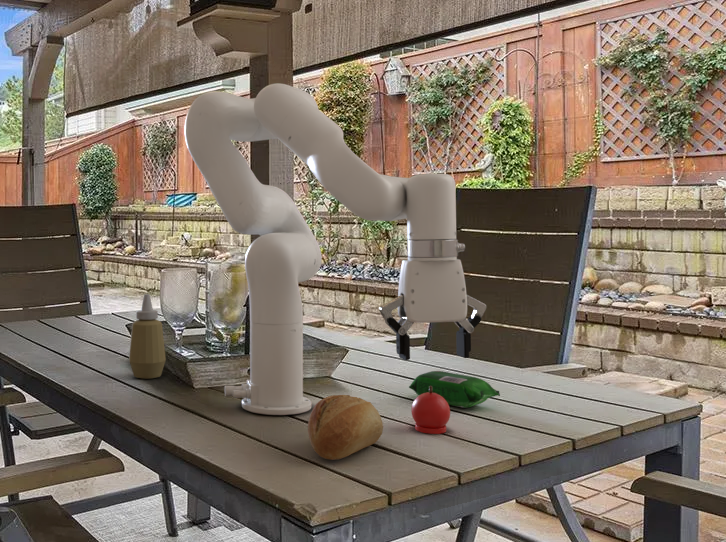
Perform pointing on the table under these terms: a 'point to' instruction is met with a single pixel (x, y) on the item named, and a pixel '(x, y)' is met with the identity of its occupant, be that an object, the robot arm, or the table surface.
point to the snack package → (454, 388)
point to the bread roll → (343, 426)
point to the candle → (430, 413)
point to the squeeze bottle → (147, 343)
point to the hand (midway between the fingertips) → (433, 357)
